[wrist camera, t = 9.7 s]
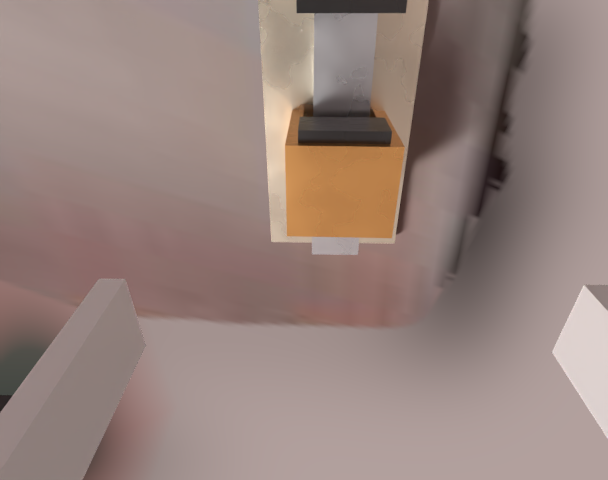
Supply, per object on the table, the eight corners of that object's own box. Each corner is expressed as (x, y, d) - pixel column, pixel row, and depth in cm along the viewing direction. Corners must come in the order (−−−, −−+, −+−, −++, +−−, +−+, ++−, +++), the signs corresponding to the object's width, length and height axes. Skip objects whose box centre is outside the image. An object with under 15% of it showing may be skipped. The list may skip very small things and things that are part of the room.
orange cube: (291, 99, 24) (284, 132, 18) (386, 100, 24) (406, 134, 18) (293, 185, 27) (286, 236, 21) (376, 186, 27) (391, 238, 21)
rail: (248, -236, 17) (208, -364, 11) (456, -239, 17) (538, -372, 11) (272, 234, 30) (260, 300, 24) (392, 236, 30) (412, 302, 24)
